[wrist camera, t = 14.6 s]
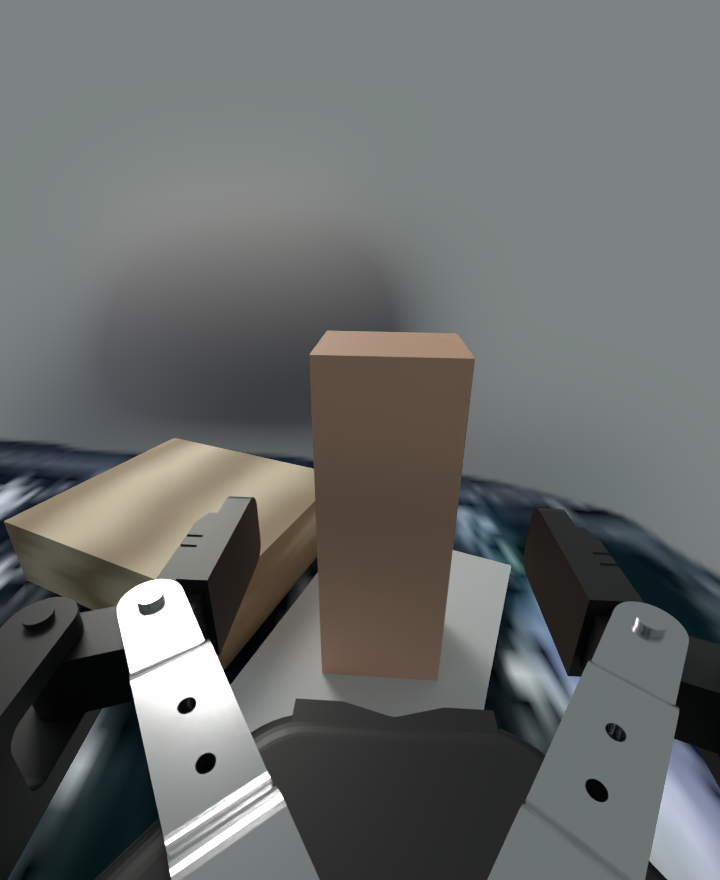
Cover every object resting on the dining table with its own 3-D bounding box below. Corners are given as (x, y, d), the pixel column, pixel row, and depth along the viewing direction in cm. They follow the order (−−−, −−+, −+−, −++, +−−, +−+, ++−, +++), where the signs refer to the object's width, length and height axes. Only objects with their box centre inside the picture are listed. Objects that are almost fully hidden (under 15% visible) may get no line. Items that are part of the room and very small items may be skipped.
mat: (175, 767, 16) (173, 758, 16) (354, 530, 30) (355, 524, 29) (443, 921, 13) (444, 913, 12) (509, 572, 26) (511, 565, 26)
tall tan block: (321, 673, 19) (309, 354, 14) (333, 604, 23) (327, 330, 17) (437, 680, 19) (474, 358, 13) (430, 610, 23) (457, 333, 17)
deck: (26, 580, 25) (3, 521, 23) (182, 483, 35) (174, 437, 33) (225, 669, 20) (214, 601, 18) (341, 526, 30) (340, 474, 28)
